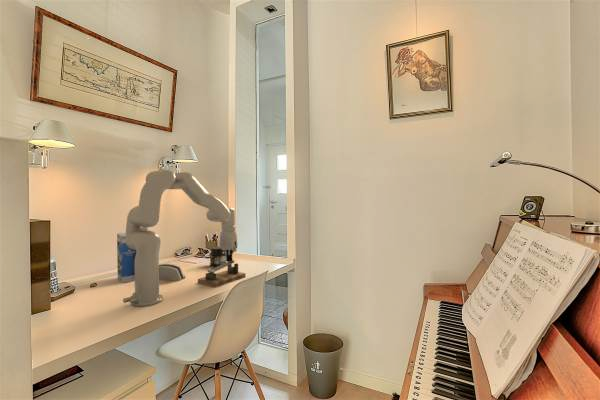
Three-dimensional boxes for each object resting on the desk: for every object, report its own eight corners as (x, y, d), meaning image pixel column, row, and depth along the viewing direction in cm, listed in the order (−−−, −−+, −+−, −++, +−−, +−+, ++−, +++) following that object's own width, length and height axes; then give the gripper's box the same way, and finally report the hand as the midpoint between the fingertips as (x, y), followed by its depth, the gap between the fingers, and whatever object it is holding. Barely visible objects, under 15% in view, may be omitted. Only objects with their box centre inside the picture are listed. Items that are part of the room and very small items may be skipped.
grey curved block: (186, 277, 167) (182, 262, 164) (181, 282, 163) (177, 267, 159) (160, 276, 171) (156, 261, 167) (155, 281, 166) (150, 266, 163)
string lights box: (117, 278, 167) (116, 233, 167) (132, 275, 172) (131, 232, 172) (122, 283, 157) (121, 235, 157) (137, 280, 162) (137, 234, 162)
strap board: (215, 287, 150) (215, 272, 150) (197, 282, 158) (197, 268, 158) (245, 276, 169) (245, 263, 169) (228, 273, 176) (228, 260, 176)
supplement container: (213, 263, 201) (212, 246, 201) (228, 263, 201) (228, 246, 200) (207, 267, 191) (207, 249, 190) (223, 267, 190) (223, 249, 190)
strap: (212, 273, 155) (212, 270, 155) (207, 272, 157) (207, 269, 157) (235, 262, 169) (235, 260, 169) (230, 262, 171) (230, 259, 171)
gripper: (214, 229, 168) (215, 261, 169) (233, 230, 160) (234, 264, 160) (224, 227, 174) (225, 258, 175) (242, 229, 166) (243, 261, 167)
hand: (229, 261), depth 168 cm, fingers closed
